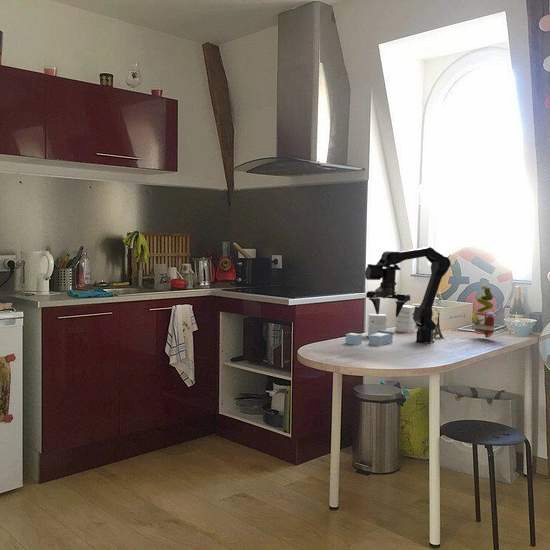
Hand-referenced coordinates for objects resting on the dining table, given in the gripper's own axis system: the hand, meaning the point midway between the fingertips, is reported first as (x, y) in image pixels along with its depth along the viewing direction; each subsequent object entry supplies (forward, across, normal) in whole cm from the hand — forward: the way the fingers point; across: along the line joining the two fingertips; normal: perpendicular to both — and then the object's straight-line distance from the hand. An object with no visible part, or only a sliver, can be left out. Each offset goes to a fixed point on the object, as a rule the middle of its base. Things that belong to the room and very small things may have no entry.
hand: (387, 315), depth 280 cm
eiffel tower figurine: (+13, +11, +30) cm, 35 cm away
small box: (+12, -10, +11) cm, 19 cm away
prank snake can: (+12, +28, +45) cm, 54 cm away
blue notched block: (+12, -1, -3) cm, 12 cm away
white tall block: (+12, -8, +38) cm, 41 cm away
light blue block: (+12, -9, -12) cm, 20 cm away
